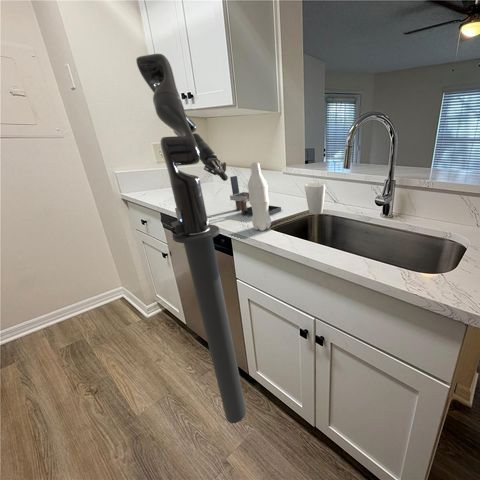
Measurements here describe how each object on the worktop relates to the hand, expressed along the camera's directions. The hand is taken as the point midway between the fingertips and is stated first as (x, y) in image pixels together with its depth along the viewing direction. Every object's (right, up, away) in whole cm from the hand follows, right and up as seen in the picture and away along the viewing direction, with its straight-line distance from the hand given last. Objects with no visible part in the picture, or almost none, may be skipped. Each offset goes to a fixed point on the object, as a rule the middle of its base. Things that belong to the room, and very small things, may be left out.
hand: (226, 179), depth 128 cm
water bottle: (+24, -25, -25) cm, 43 cm away
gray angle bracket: (+10, -10, -2) cm, 14 cm away
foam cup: (+44, -17, -6) cm, 48 cm away
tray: (+19, -17, -4) cm, 25 cm away
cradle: (+10, -15, 0) cm, 18 cm away
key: (+10, -9, -1) cm, 13 cm away
